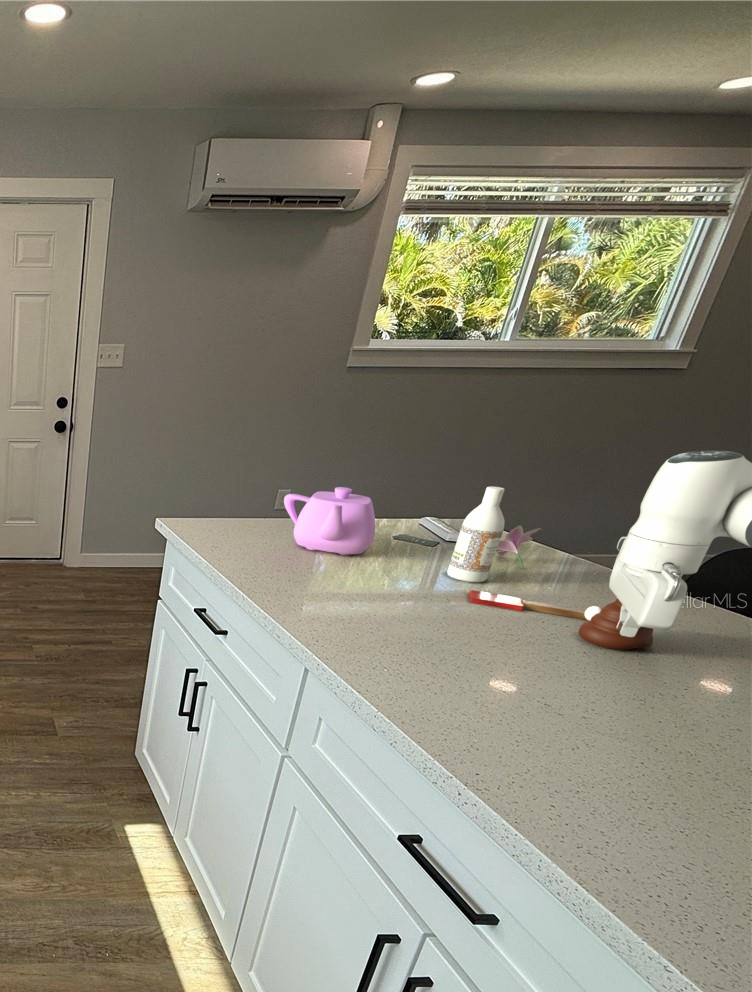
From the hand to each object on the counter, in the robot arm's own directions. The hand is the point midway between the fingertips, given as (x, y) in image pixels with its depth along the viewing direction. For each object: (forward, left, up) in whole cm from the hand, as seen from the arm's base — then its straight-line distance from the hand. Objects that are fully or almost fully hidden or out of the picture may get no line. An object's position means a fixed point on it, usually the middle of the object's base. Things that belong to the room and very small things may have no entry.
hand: (624, 633), depth 105 cm
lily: (+11, -47, -4) cm, 48 cm away
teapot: (+46, -37, -4) cm, 59 cm away
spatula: (+8, -16, -4) cm, 18 cm away
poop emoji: (0, -5, -4) cm, 6 cm away
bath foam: (+19, -30, -4) cm, 36 cm away
